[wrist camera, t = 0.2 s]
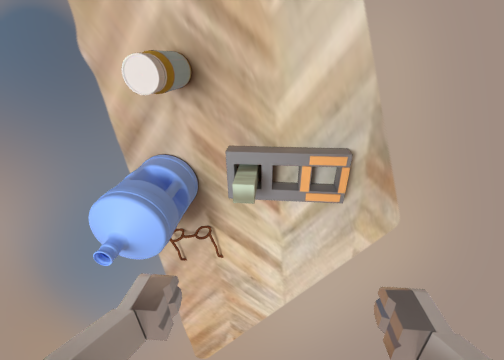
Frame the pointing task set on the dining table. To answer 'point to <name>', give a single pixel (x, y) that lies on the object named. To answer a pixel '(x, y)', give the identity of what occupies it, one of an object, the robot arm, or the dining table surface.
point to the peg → (245, 183)
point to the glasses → (196, 237)
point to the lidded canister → (155, 71)
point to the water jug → (142, 209)
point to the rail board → (305, 161)
